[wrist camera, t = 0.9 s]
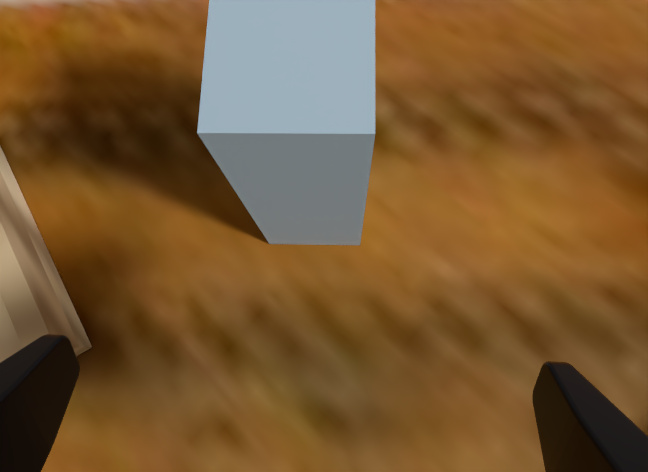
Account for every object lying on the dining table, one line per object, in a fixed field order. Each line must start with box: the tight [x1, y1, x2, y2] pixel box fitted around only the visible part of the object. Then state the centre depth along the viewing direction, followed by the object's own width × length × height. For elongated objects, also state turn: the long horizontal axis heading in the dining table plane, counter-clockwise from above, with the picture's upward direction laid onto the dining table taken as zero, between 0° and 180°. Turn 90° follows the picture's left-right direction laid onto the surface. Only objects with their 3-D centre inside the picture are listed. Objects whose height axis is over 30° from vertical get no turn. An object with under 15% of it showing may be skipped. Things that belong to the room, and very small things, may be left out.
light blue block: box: [197, 0, 375, 245], centre depth 19 cm, size 5×4×12 cm
